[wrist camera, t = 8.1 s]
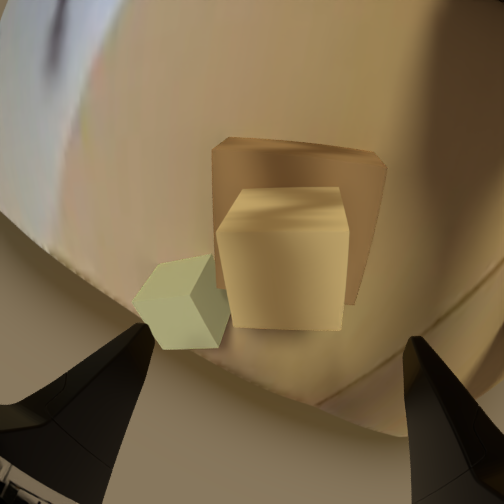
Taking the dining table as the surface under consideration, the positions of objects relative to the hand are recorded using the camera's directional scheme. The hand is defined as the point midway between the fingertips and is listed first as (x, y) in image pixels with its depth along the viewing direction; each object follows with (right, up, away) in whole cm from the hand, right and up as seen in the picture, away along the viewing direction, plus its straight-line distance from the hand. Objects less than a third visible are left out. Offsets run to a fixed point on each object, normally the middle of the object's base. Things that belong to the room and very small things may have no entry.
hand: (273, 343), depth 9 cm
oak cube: (+2, +4, +7) cm, 8 cm away
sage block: (-5, 0, +15) cm, 16 cm away
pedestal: (+2, +6, +11) cm, 12 cm away
